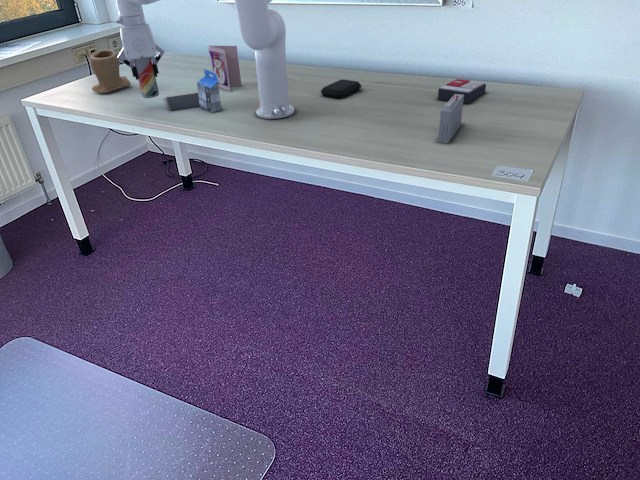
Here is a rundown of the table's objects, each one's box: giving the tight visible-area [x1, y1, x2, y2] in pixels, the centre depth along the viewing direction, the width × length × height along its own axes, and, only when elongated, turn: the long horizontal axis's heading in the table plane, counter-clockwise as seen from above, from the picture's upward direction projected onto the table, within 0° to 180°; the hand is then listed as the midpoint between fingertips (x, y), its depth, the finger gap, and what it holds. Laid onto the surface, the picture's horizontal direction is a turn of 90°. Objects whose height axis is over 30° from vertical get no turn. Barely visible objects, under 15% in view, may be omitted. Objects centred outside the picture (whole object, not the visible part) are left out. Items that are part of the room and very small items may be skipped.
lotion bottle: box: [134, 55, 160, 99], centre depth 176 cm, size 6×6×20 cm
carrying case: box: [320, 78, 362, 99], centre depth 188 cm, size 11×3×15 cm
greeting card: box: [207, 45, 243, 92], centre depth 198 cm, size 11×7×15 cm, turn 42°
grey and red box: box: [437, 78, 487, 105], centre depth 178 cm, size 11×4×15 cm
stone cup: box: [89, 49, 131, 94], centre depth 202 cm, size 15×12×15 cm
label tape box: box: [196, 68, 222, 113], centre depth 176 cm, size 9×4×12 cm, turn 40°
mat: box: [166, 92, 202, 112], centre depth 188 cm, size 16×14×1 cm
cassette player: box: [437, 94, 464, 144], centre depth 148 cm, size 16×3×10 cm, turn 154°
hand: (146, 76), depth 178 cm, fingers closed on lotion bottle, 5 cm apart
